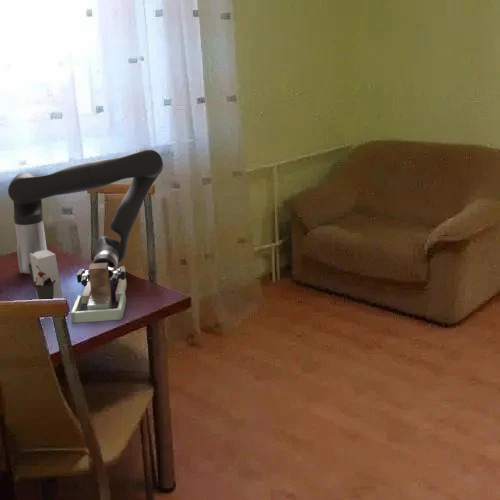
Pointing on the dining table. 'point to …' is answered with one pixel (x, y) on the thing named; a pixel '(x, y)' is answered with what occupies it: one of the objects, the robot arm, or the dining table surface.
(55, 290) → the skincare box
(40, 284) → the sundae
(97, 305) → the grey rectangular block
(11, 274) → the dining table surface
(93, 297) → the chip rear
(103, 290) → the block
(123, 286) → the slot rails
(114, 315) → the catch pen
